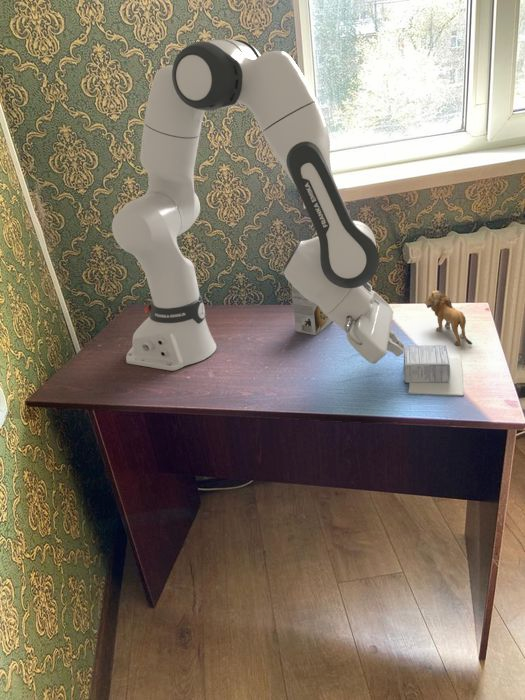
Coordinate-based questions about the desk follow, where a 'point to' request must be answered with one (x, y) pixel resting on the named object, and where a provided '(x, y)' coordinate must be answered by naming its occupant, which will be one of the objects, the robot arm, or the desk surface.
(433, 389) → the mat
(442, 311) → the lion figurine
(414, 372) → the medicine box
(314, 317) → the coffee box
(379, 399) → the desk surface
